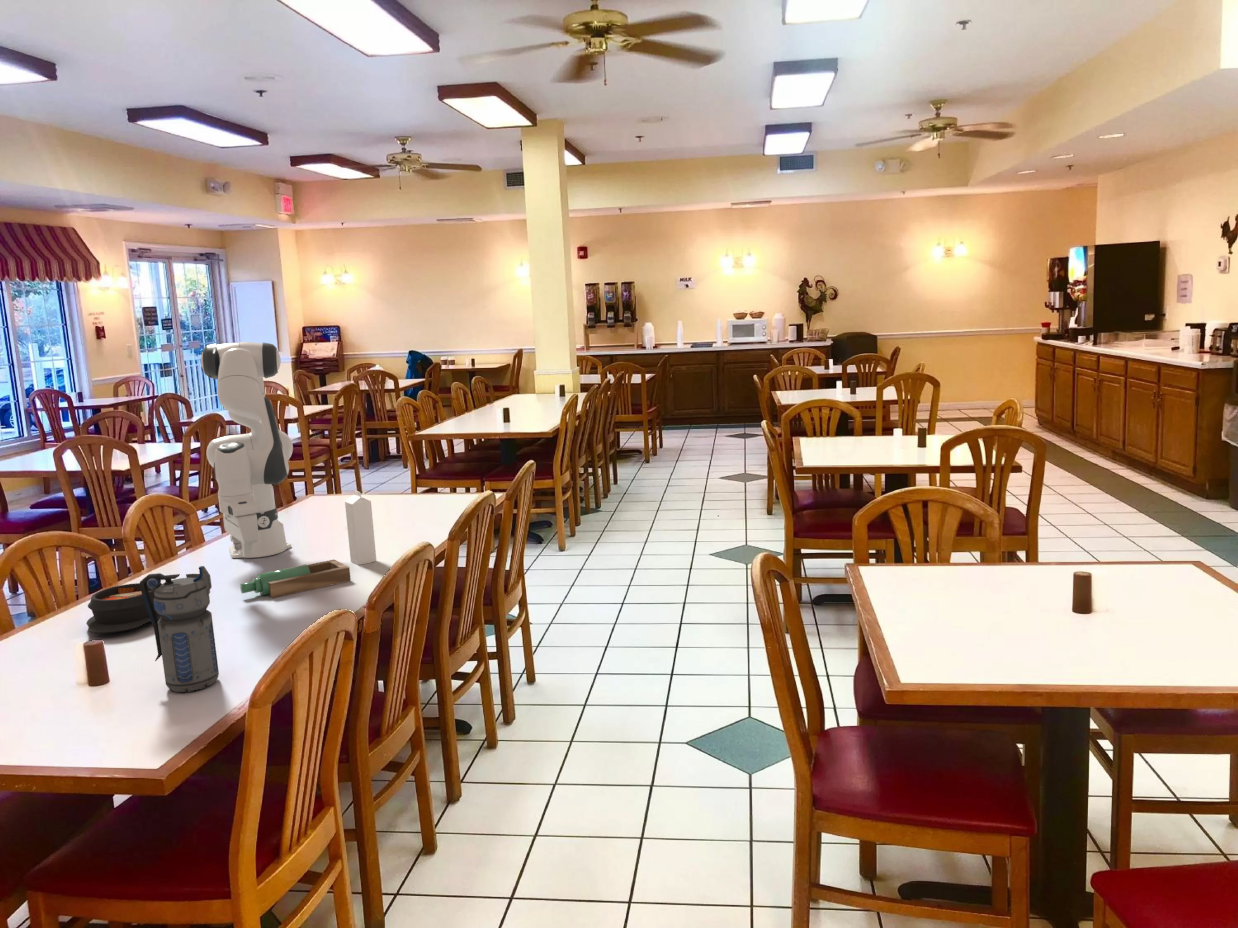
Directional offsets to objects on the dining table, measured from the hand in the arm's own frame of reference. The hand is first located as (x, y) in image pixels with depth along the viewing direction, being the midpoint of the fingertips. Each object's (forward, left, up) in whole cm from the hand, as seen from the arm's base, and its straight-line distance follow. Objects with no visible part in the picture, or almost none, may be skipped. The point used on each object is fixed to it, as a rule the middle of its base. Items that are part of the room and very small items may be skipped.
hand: (242, 553), depth 253 cm
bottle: (+1, +16, -9) cm, 19 cm away
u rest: (0, +16, -12) cm, 20 cm away
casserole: (0, -29, -13) cm, 32 cm away
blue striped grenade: (+56, -27, -12) cm, 64 cm away
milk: (-12, +38, -13) cm, 41 cm away
